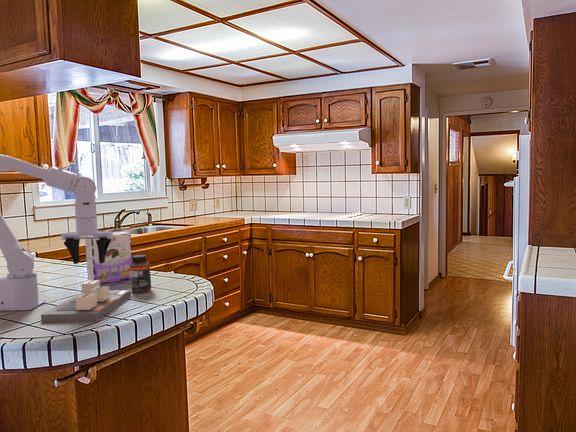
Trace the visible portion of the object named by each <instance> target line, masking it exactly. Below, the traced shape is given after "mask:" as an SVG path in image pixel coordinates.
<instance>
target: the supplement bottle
mask: <svg viewBox="0 0 576 432" xmlns="http://www.w3.org/2000/svg"><path fill="white" fill-rule="evenodd" d="M130 277H131V279H130V286H131V287H130V290H131V293H133V294H146V293H148V292H151V290H152V279H151V278H152V277H151V266H150V262H148V260H147V255H146V254H136V255H132V263H131V264H130Z"/></svg>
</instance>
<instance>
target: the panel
mask: <svg viewBox="0 0 576 432" xmlns="http://www.w3.org/2000/svg"><path fill="white" fill-rule="evenodd" d="M109 293H110V298H108V299H107V300H105V301H104V302H97V306H95V307H94V308H92V309H90V310H76V297H78V296H79V295H81V294H82V292H80V293H78V294H76V295H75V296H73V297H71V298H68V299H67V300H65V301H64V302H61V303H59V304H57V305H56V306H54V307H52V308H50V309H47V311H45V312H43V313H41V314H40V319H41V323H74V322H75V323H77V322H79V323H81V322H83V323H84V322H90V323H91V322H94V323H95V322H98V321H100V320H101V319H102V318H104V317H105V316H106V315H108V314H109V313H110V312H112V311H113V310H114V309H116V308H117V307H119V306H120V305H122V304H123V303H124V302H126V301H127V300H128V299H130V298H131V297H132V289H120V290H119V289H116V290H115V289H113V290H112V289H111V290H110V289H109Z"/></svg>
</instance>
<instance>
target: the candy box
mask: <svg viewBox="0 0 576 432" xmlns="http://www.w3.org/2000/svg"><path fill="white" fill-rule="evenodd" d="M84 237H93V236H84ZM131 239H132V237H131V232H128V231H127V232H126V231H119V232H113V238H111V242H110V244H109V246H108V249H107V252H106V256H105V262H104V263H99V252H98V247H97V243H96V240H100V239H84V241H85V242H84V243H85V245H84V246H85V257H86V271H87V281H88V280H100V286H101V285H102V286H103V285H106V284H111V283H115V282H116V283H117V282H121V281H122V282H123V281H125V280H131V277H130V264H131V263H132V262H133V258H132V257H133V255H132V251H133V250H132V241H131Z"/></svg>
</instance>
